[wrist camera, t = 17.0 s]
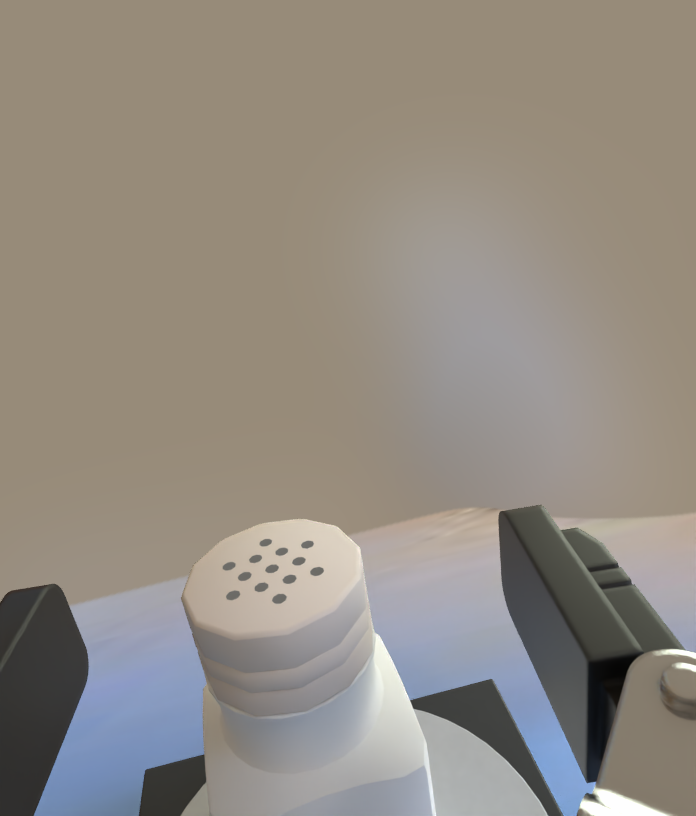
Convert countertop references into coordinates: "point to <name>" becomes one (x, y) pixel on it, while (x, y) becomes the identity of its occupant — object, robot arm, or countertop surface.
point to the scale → (448, 758)
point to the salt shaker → (300, 681)
